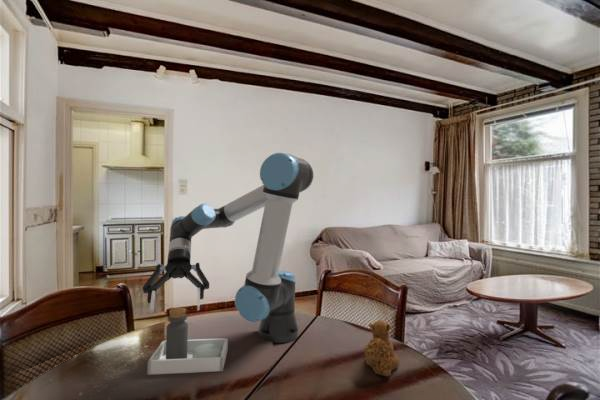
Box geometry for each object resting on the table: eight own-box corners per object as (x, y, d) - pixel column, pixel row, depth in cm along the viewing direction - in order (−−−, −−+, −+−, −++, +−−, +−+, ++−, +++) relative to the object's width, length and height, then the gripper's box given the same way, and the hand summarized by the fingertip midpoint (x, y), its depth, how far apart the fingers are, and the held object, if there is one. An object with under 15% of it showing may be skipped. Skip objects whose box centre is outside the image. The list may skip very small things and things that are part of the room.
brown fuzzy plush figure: (399, 360, 96) (399, 317, 96) (398, 385, 82) (399, 335, 83) (366, 355, 99) (367, 313, 99) (360, 378, 86) (361, 330, 86)
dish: (217, 351, 97) (217, 341, 97) (222, 363, 90) (223, 353, 90) (191, 356, 94) (191, 346, 94) (194, 369, 87) (194, 358, 87)
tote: (227, 352, 99) (228, 338, 99) (222, 374, 86) (223, 358, 86) (162, 355, 96) (162, 340, 97) (147, 378, 84) (147, 361, 84)
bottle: (179, 367, 87) (181, 314, 88) (161, 364, 89) (162, 312, 89) (190, 357, 93) (192, 307, 94) (173, 355, 94) (174, 306, 95)
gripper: (215, 258, 116) (216, 312, 102) (142, 261, 109) (132, 319, 94) (216, 246, 111) (217, 300, 97) (139, 248, 104) (128, 308, 89)
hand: (175, 310), depth 96 cm, fingers open, 13 cm apart
